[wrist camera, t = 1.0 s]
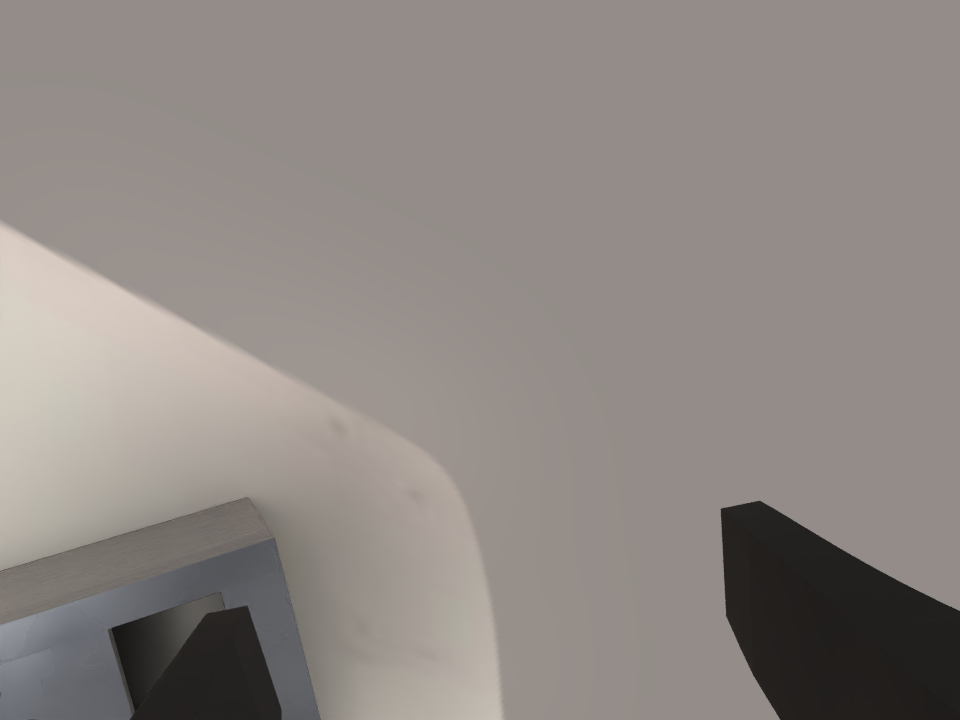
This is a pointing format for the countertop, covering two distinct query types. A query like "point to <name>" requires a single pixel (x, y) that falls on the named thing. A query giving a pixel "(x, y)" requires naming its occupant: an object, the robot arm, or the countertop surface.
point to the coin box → (140, 612)
